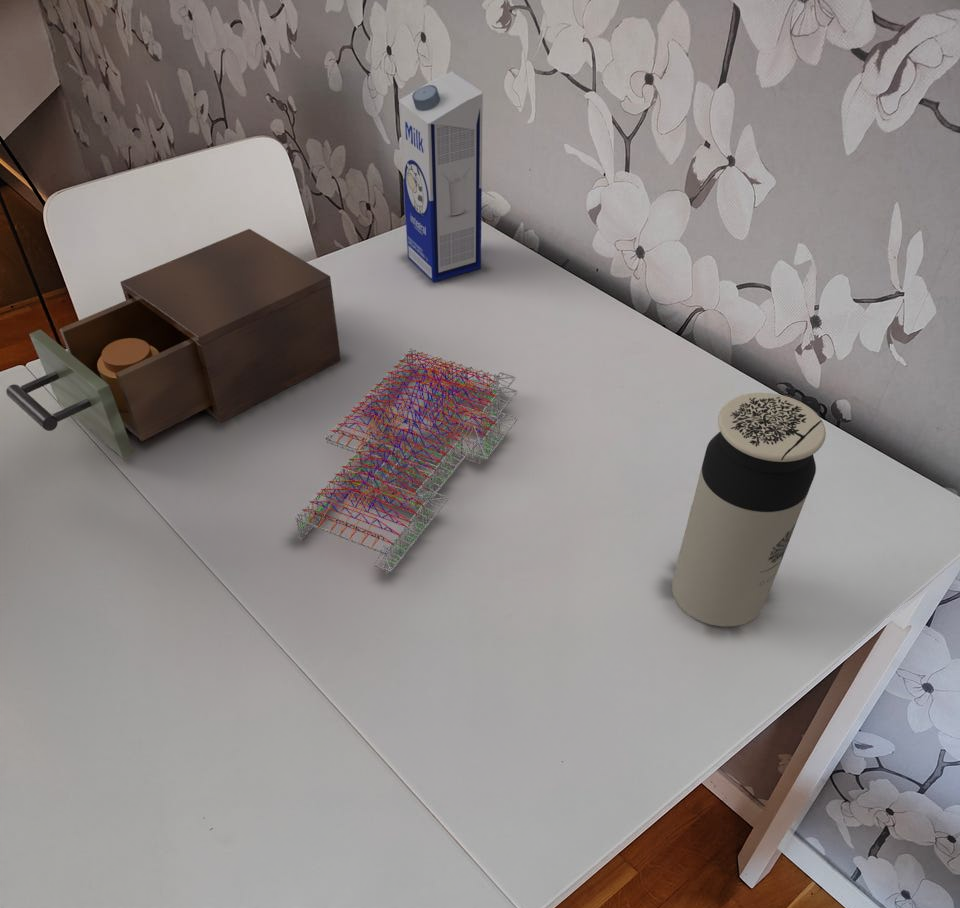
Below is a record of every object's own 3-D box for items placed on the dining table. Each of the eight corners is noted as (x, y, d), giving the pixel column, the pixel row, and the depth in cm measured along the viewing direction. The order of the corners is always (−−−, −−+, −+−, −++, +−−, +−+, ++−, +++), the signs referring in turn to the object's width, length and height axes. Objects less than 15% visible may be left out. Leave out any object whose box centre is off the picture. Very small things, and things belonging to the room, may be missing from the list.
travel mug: (651, 589, 78) (692, 417, 64) (712, 547, 81) (763, 376, 67) (722, 644, 74) (782, 475, 60) (783, 598, 77) (853, 428, 63)
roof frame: (399, 592, 77) (395, 550, 73) (254, 535, 81) (243, 492, 77) (543, 403, 94) (546, 360, 90) (417, 364, 98) (415, 321, 94)
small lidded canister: (96, 398, 90) (80, 355, 87) (142, 370, 94) (128, 327, 90) (137, 420, 88) (122, 376, 84) (183, 390, 91) (170, 347, 88)
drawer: (77, 483, 84) (46, 414, 78) (12, 423, 90) (-21, 354, 84) (248, 395, 93) (233, 327, 87) (180, 345, 98) (161, 278, 92)
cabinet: (220, 423, 92) (198, 337, 84) (146, 366, 98) (119, 281, 90) (341, 360, 99) (330, 276, 91) (265, 311, 105) (249, 228, 97)
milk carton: (481, 269, 111) (483, 90, 96) (433, 283, 109) (427, 102, 93) (453, 244, 115) (451, 68, 99) (407, 257, 113) (397, 79, 97)
